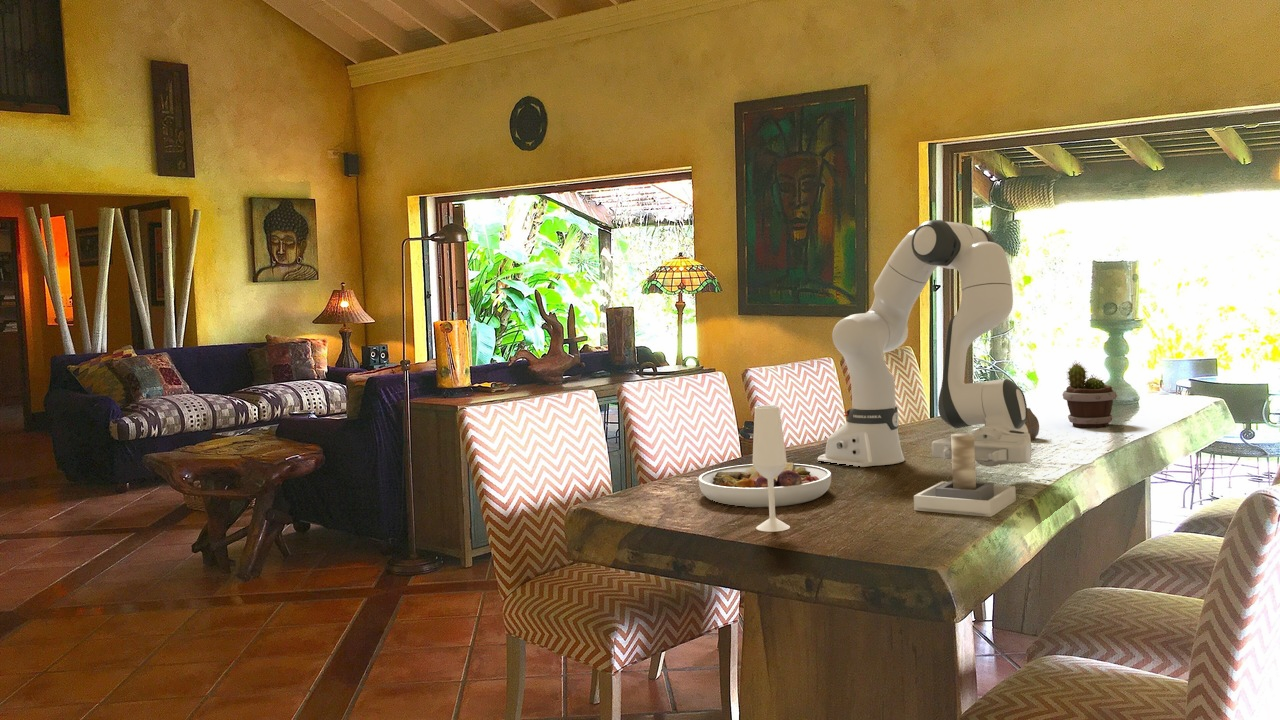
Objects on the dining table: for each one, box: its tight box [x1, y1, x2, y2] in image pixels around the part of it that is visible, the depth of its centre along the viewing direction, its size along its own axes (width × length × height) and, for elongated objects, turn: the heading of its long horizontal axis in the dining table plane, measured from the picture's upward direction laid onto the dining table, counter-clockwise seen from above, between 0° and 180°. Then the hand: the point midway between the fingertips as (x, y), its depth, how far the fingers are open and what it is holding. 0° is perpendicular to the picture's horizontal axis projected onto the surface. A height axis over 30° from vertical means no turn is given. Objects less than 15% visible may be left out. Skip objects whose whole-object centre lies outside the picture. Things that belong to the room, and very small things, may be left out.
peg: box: [950, 433, 977, 490], centre depth 205 cm, size 4×4×14 cm
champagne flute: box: [751, 404, 791, 533], centre depth 196 cm, size 7×7×24 cm
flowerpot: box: [1061, 361, 1118, 429], centre depth 297 cm, size 14×15×20 cm
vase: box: [1025, 407, 1040, 441], centre depth 281 cm, size 7×7×9 cm
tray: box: [913, 479, 1017, 518], centre depth 205 cm, size 16×16×4 cm
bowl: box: [698, 461, 832, 508], centre depth 227 cm, size 30×30×8 cm
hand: (968, 456), depth 207 cm, fingers open, 8 cm apart
